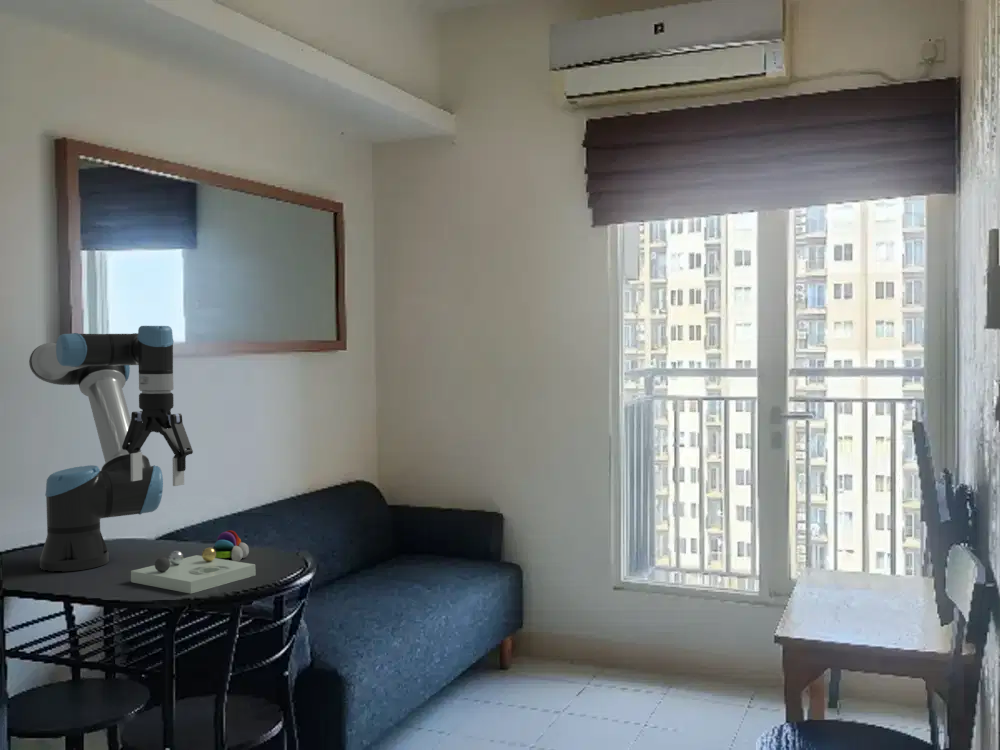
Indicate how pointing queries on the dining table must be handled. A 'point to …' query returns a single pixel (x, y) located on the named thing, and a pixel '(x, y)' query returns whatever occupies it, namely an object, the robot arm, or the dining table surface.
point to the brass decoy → (208, 554)
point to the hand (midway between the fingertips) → (157, 482)
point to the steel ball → (176, 557)
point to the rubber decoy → (162, 564)
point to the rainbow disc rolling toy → (230, 546)
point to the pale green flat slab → (194, 574)
